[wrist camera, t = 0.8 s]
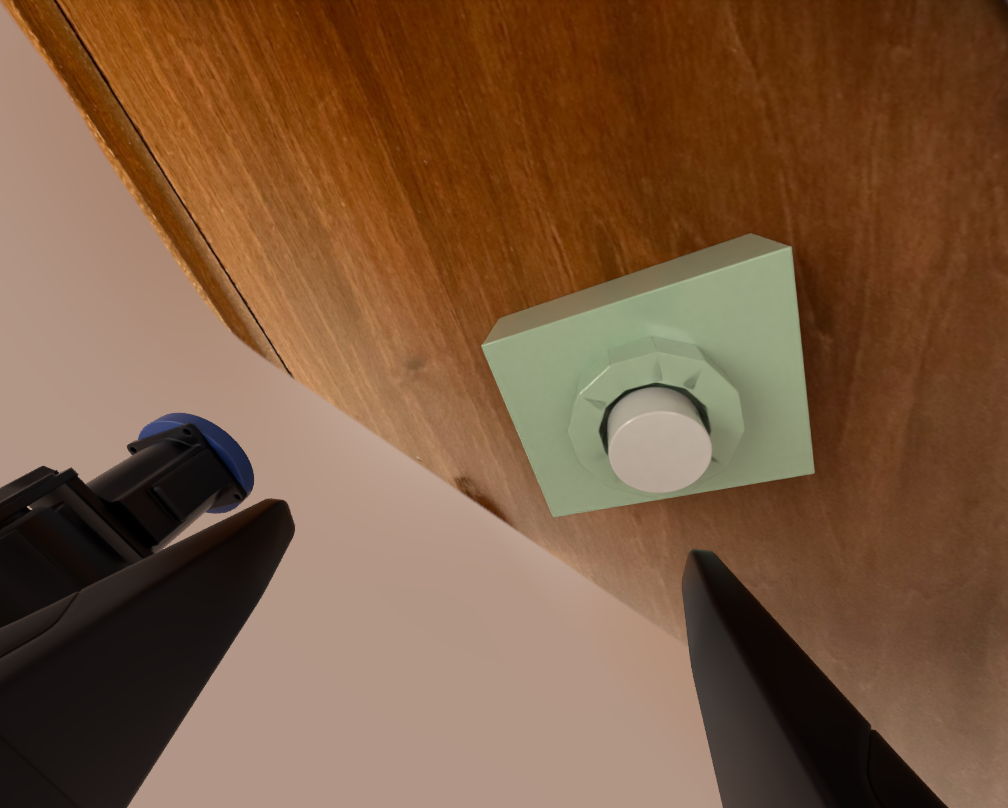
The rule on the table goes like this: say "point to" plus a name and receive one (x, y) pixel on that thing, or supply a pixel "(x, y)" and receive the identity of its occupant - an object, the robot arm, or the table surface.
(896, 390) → the table surface
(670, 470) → the beige button cap
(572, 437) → the button base
